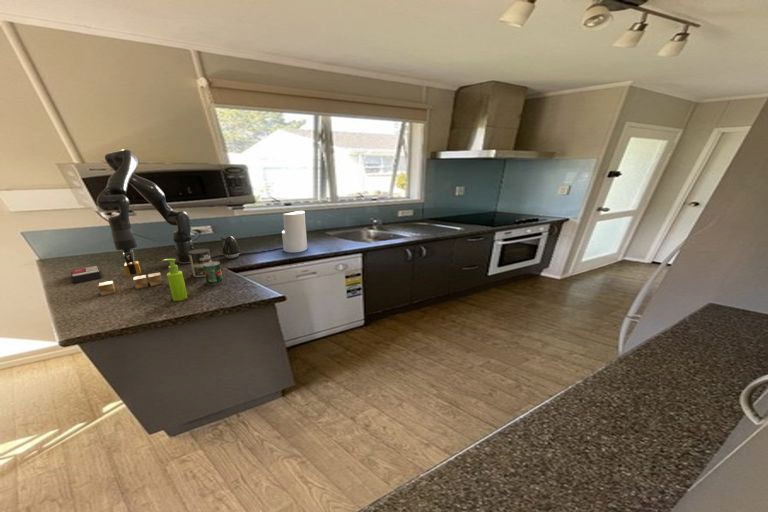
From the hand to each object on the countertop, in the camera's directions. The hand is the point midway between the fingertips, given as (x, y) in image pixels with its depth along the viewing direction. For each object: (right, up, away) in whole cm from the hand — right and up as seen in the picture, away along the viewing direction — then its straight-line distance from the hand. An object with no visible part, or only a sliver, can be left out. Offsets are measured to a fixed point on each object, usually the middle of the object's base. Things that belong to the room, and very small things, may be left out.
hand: (133, 272), depth 137 cm
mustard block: (0, 0, 0) cm, 0 cm away
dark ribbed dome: (+17, +7, +58) cm, 61 cm away
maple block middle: (-6, -8, +12) cm, 16 cm away
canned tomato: (+28, -7, +18) cm, 34 cm away
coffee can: (+15, -3, +30) cm, 33 cm away
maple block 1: (-17, -10, +4) cm, 20 cm away
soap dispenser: (+22, -13, 0) cm, 25 cm away
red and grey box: (-46, -4, +22) cm, 51 cm away
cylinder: (+54, +13, +79) cm, 96 cm away
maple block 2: (-2, -7, +16) cm, 17 cm away
